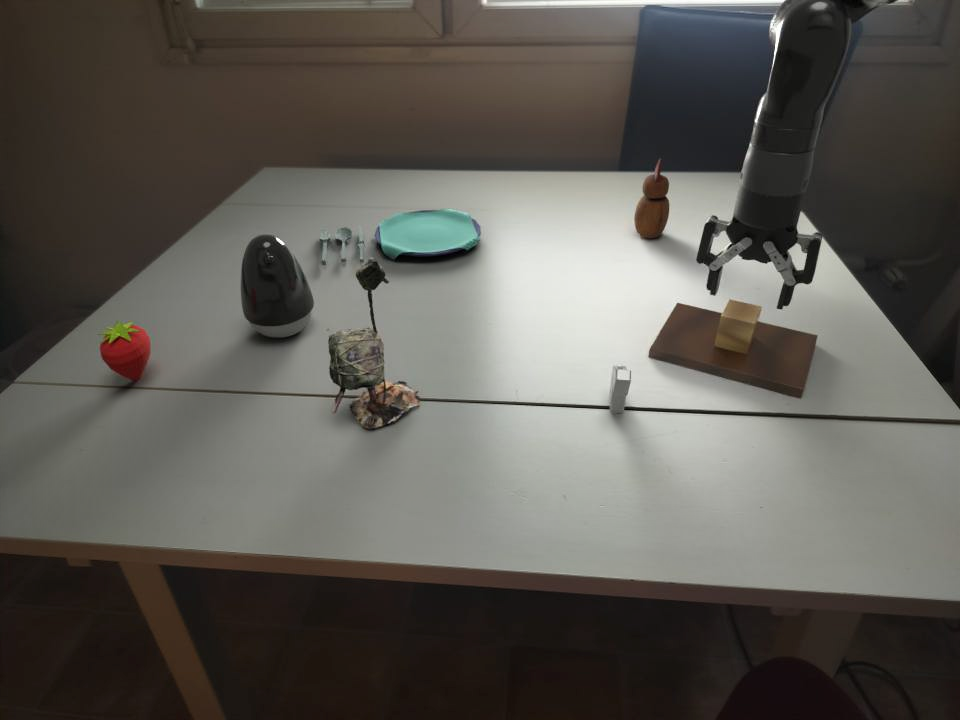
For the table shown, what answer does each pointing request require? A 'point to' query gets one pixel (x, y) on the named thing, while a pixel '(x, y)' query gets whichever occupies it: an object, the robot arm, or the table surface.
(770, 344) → the walnut board
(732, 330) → the beech block
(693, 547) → the table surface
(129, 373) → the strawberry
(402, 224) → the cutlery set
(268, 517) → the table surface
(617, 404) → the lighter
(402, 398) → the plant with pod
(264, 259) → the black egg shaped dome
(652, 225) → the wooden figurine
